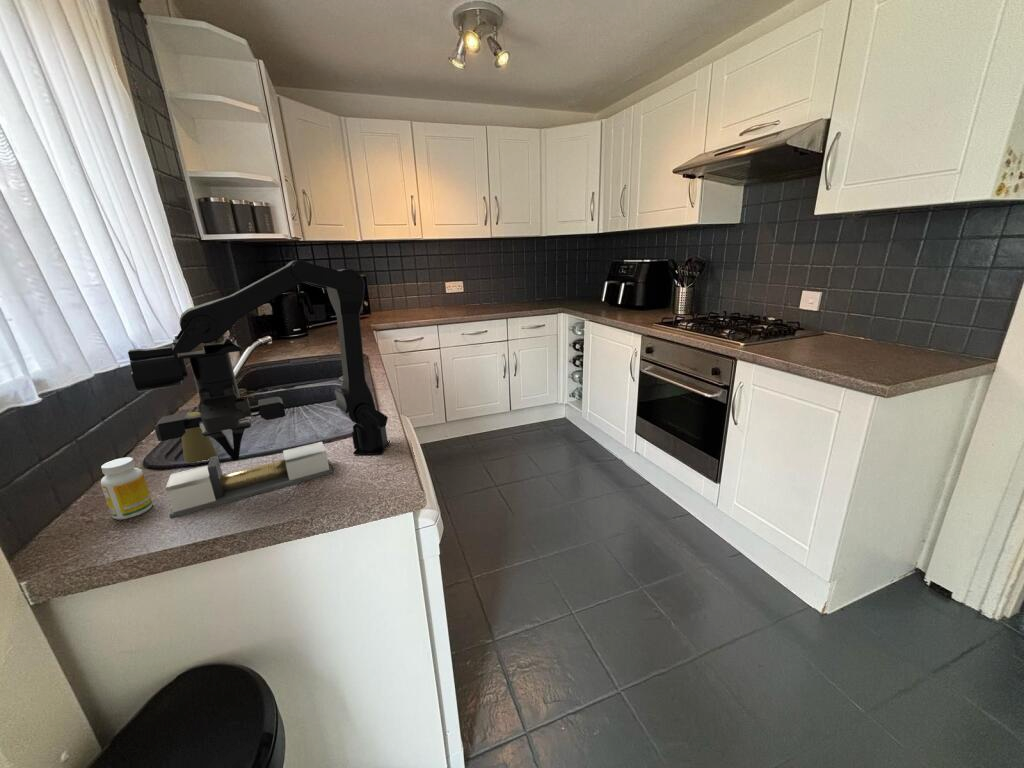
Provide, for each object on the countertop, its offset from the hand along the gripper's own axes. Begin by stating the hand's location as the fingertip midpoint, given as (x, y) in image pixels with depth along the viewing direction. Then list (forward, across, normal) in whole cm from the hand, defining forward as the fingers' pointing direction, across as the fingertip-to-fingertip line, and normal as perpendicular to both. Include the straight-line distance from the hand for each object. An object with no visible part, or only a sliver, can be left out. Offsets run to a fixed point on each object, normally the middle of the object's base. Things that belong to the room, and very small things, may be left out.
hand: (236, 459), depth 75 cm
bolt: (+5, 0, 0) cm, 5 cm away
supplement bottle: (+6, -17, +3) cm, 18 cm away
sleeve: (+6, +11, 0) cm, 13 cm away
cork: (+6, -8, +22) cm, 24 cm away
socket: (+6, -7, 0) cm, 9 cm away
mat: (+6, +2, 0) cm, 7 cm away
